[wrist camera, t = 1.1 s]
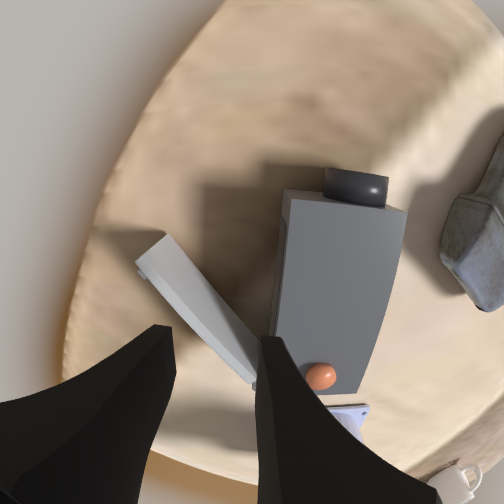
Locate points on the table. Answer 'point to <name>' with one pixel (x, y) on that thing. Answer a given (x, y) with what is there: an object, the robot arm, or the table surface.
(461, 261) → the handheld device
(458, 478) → the mug
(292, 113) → the table surface
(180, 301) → the side door
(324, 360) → the camera body
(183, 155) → the table surface
